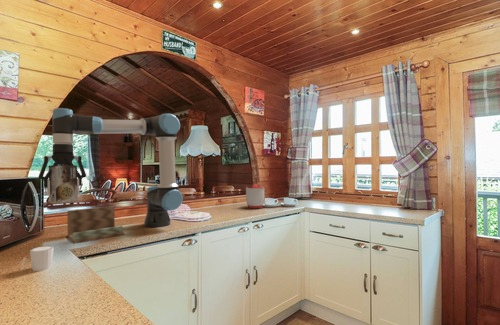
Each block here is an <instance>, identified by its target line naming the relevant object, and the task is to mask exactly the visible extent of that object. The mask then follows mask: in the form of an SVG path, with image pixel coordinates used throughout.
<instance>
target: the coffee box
mask: <svg viewBox="0 0 500 325" xmlns="http://www.w3.org/2000/svg"><path fill="white" fill-rule="evenodd" d="M51 168H52V174H51V175H50V177H49V178H48V180H50V196H48V203H50V204H51V203H52V204H61V203H62V204H64V203H68V202H69V203H70V202H71V203H72V202H76V201H78V200H79V193H78V189H77V179H78V177H77V171H78V164H77V165H76V164H75V165H74V164H73V166H70V165H57V166H53V165H48V171H49V170H50V169H51Z"/></svg>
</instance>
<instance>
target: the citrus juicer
mask: <svg viewBox="0 0 500 325" xmlns="http://www.w3.org/2000/svg"><path fill="white" fill-rule="evenodd" d="M245 199H246V200H245V201H246V205H247V207H248V208H249V209H253V210H257V209H262V208H263V207H264V204H265V186H259V185H258V184H257V183H254V184H252V186H251V187H248V186H245Z"/></svg>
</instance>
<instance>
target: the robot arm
mask: <svg viewBox="0 0 500 325" xmlns="http://www.w3.org/2000/svg"><path fill="white" fill-rule="evenodd" d="M73 112H74V111H73V110H72V109H70V108H63V107H56V108H53V110H52V118H51V119H52V143H53V144H52V154H51V155H45V156H43V163H42V166H41V169H40V171H39V174H38V176H37V177H38V179H40V180H43V187H44V188H45V189H46V196H48V197H49V196H50V180H49V177H50V175H51V174H52V168H51V169H50V170H49V169H48V171H47V173H46V174H45V172H46V169H47V166H48V163H49V162H50V161H51V160H52V161H54V163H52V166H57V165H70V166H73V165H74V163H73V160H75V161H76V162H77V167H78V168H79V170H80V172H79V171H78V170H77V189H78V194H80V187H81V186H82V185H83V178H87V173H86V171H85V168H84V166H83V162H82V156H81V155H78V156H77V155H76V156H75V155H74V134H75V135H81V136H83V135H92V134H93V135H101V134H103V135H106V134H110V135H111V134H140V135H141V136H155V139H156V140H157V142H158V160H159V164H158V165H159V184H158V185H157V186H150V187H147V190H146V215H145V218H144V221H143V226H145V227H147V228H160V227H166V226H170V225H171V218H170V214H169V212H168V211H175V210H177V209H179V207H180V206H181V205H182V203H183V199H184V198H183V197H184V196H183V193H182V192H181V191H180V189H179V187H180V186H179V184H178V183H177V180H176V156H175V154H176V153H175V151H176V150H175V140H177V138H178V132H179V131H180V129H181V123H180V120H179V118H178V117H177V116H176V115H174V114H172V113H162V114H159V115H155V116H151V117H147V118H146V117H145V118H143V117H142V118H140V119H103V118H102V117H99V116H94V115H83V114H82V115H80V114H74V113H73Z"/></svg>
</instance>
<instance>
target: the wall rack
mask: <svg viewBox="0 0 500 325" xmlns="http://www.w3.org/2000/svg"><path fill="white" fill-rule="evenodd" d="M66 211H67V235H66V236H67V237H68V238H69V239H70V241H72V242H73V244H80V243H85V242H86V243H87V242H90V241H91V242H92V241H97V240H102V239H109V238H113V237H114V236H115V237H120V236H124V235H125V232H123V226H122V225H116V226H115V222H116V221H115V205H112V206H111V205H110V206H102V207H93V208H83V209H73V210H66Z"/></svg>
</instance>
